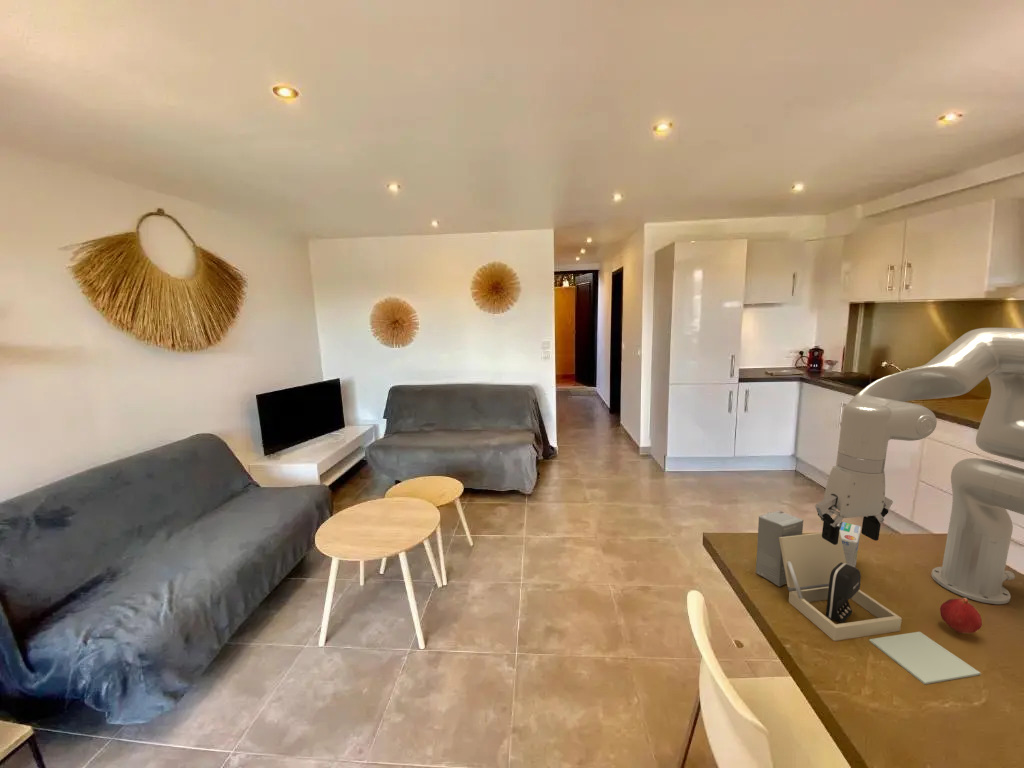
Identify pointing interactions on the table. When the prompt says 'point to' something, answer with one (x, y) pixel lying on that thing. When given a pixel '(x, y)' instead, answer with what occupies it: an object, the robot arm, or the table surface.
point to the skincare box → (774, 544)
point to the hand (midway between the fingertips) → (849, 539)
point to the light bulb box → (850, 541)
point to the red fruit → (961, 615)
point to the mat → (924, 658)
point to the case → (827, 587)
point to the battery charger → (842, 591)
